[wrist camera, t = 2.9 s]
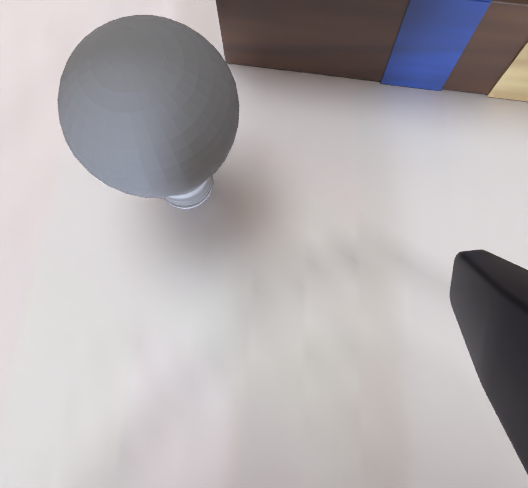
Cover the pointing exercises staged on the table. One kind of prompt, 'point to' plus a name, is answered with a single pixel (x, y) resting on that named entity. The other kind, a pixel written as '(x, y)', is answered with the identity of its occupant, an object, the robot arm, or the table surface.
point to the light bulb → (149, 108)
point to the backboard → (386, 41)
